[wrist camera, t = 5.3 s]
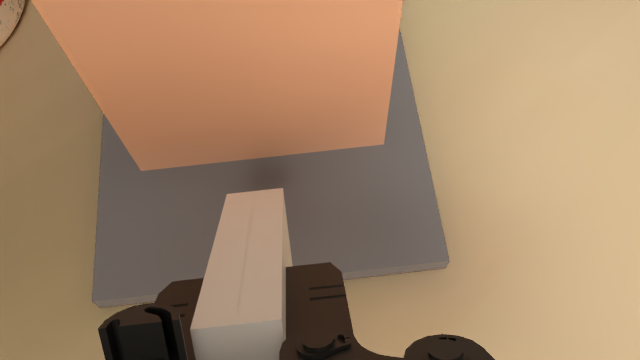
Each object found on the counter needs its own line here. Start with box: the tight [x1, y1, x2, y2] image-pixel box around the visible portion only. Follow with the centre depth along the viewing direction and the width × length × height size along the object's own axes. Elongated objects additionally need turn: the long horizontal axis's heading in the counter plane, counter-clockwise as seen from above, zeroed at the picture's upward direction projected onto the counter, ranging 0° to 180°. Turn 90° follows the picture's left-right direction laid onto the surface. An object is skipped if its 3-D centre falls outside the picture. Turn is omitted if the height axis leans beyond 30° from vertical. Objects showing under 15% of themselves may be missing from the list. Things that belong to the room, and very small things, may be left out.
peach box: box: [31, 0, 403, 171], centre depth 17 cm, size 2×9×12 cm, turn 96°
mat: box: [92, 28, 449, 308], centre depth 25 cm, size 20×12×1 cm, turn 6°
